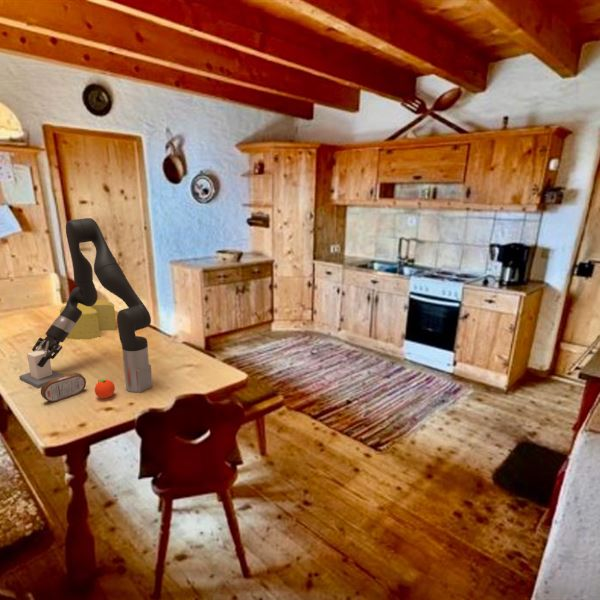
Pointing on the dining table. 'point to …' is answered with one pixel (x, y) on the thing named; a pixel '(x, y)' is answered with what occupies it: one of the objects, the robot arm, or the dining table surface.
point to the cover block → (36, 370)
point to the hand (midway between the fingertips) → (35, 364)
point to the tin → (63, 387)
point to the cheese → (93, 320)
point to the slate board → (40, 382)
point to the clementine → (104, 388)
